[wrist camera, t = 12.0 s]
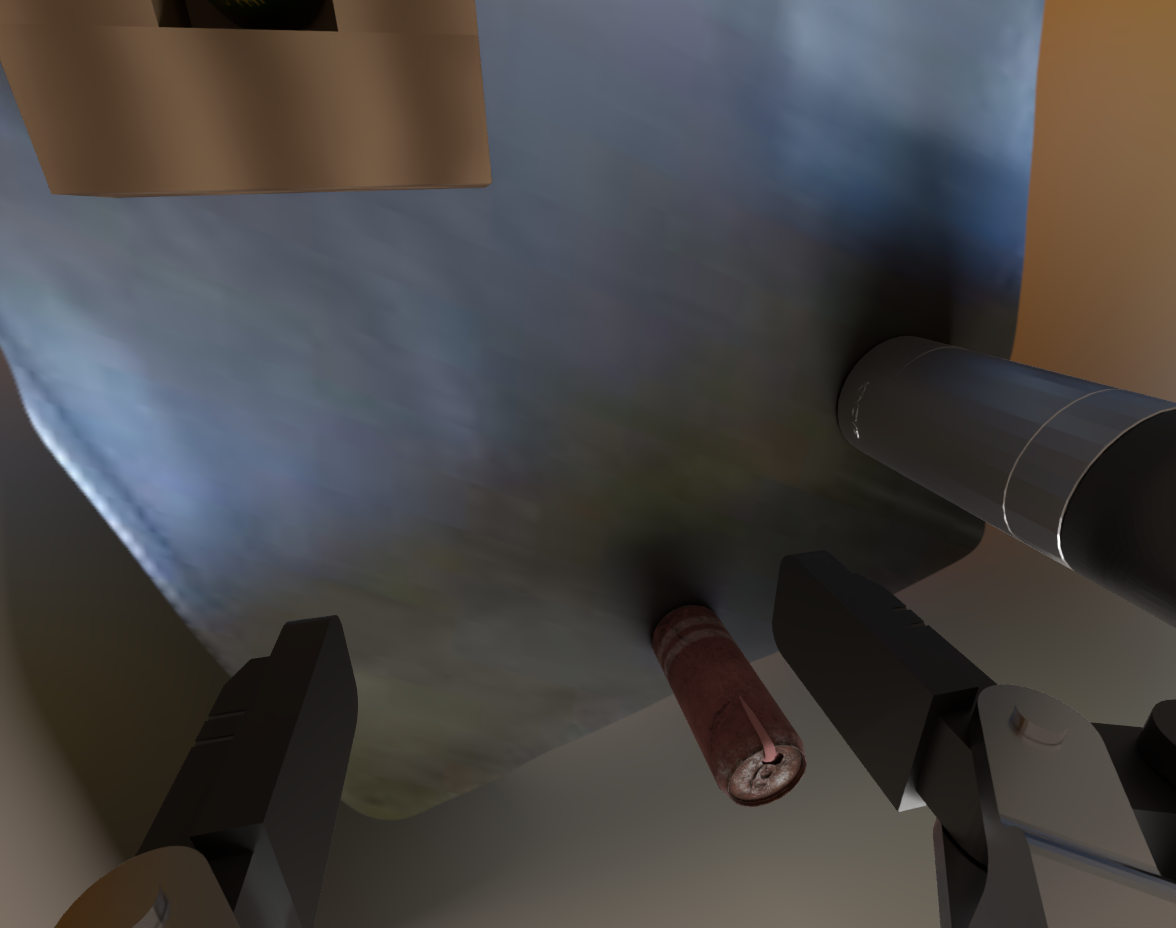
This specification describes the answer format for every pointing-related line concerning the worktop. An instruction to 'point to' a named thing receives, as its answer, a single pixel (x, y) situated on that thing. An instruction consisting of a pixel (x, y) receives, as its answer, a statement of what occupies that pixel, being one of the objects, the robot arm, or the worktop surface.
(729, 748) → the can
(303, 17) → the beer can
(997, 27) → the worktop surface
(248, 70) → the socket block
